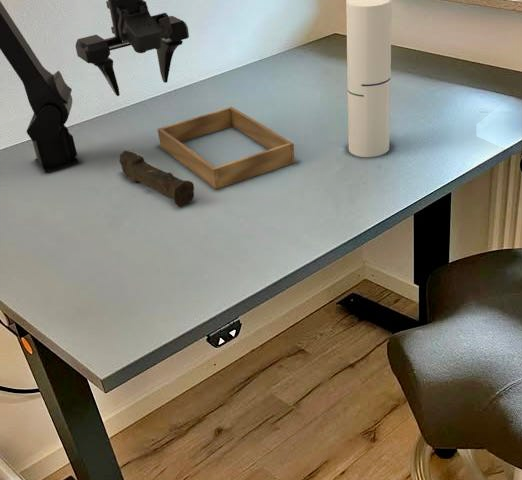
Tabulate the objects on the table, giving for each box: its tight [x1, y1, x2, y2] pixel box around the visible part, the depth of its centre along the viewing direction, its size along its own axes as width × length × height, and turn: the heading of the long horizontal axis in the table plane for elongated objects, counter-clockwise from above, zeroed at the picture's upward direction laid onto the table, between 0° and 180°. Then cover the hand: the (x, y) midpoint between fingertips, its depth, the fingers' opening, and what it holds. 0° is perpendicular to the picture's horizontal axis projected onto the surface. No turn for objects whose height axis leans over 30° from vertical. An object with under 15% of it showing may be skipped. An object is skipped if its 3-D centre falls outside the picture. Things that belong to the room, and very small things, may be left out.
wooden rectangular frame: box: [157, 106, 296, 190], centre depth 143 cm, size 16×22×4 cm
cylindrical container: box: [345, 0, 393, 158], centre depth 133 cm, size 7×7×25 cm
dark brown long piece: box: [119, 150, 195, 208], centre depth 134 cm, size 19×4×5 cm, turn 39°
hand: (141, 88), depth 140 cm, fingers open, 9 cm apart
